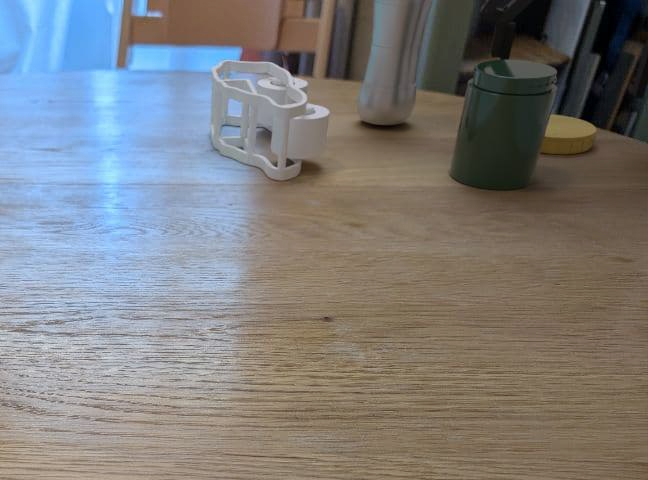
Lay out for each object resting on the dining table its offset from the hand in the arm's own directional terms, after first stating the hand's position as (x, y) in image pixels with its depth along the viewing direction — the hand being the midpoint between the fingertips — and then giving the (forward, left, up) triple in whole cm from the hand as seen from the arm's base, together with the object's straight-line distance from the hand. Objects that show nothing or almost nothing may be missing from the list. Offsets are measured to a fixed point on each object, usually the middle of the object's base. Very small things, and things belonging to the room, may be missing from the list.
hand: (565, 92), depth 92 cm
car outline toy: (+30, +11, -6) cm, 33 cm away
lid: (0, 0, -4) cm, 4 cm away
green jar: (+6, +13, -5) cm, 15 cm away
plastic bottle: (+19, -2, -6) cm, 19 cm away
